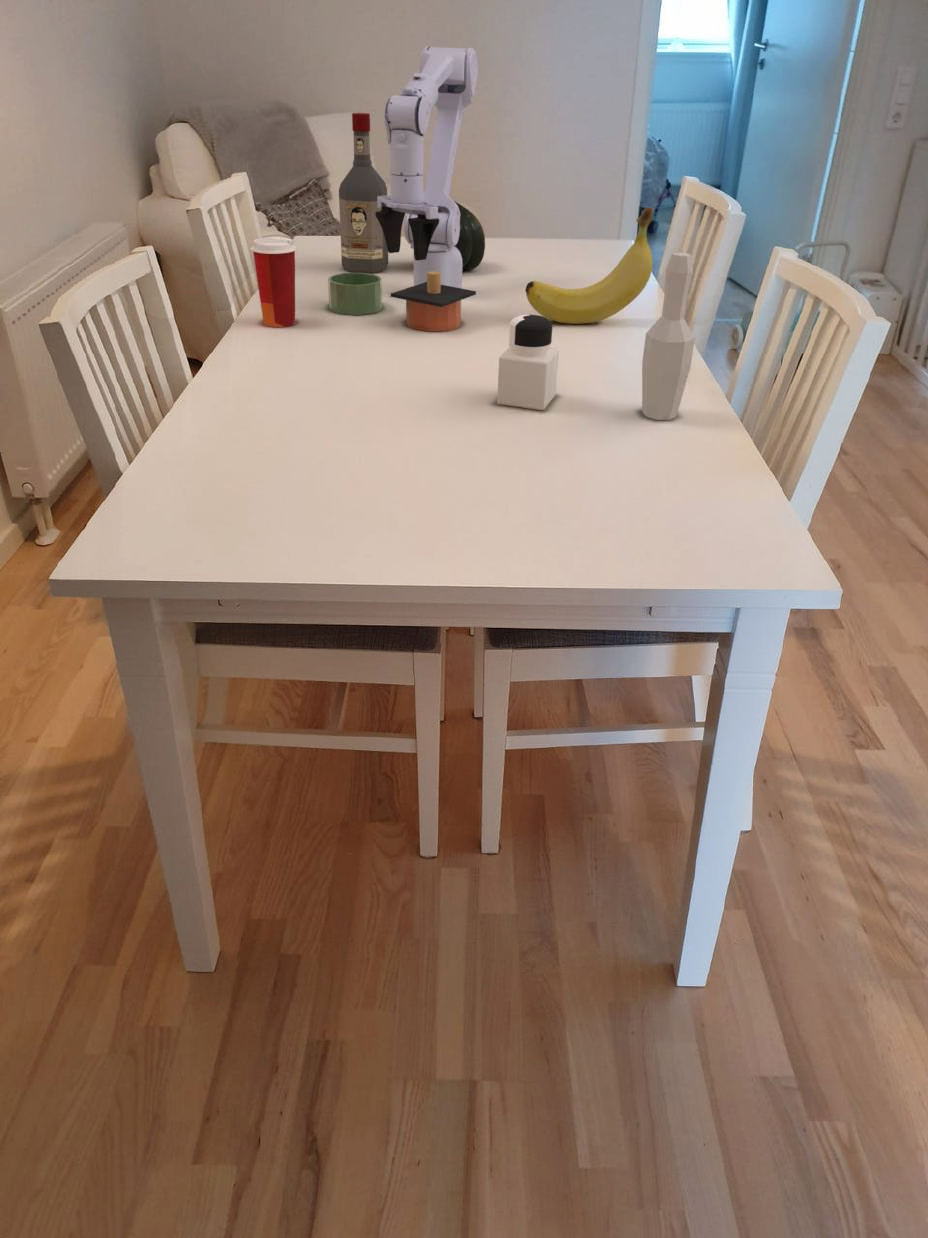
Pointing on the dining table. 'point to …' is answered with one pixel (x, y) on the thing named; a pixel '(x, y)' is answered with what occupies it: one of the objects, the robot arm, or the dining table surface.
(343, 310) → the sage cup
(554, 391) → the medicine bottle
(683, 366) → the faceted bottle
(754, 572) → the dining table surface
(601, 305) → the banana
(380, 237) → the liquor
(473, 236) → the squash
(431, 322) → the terracotta cup
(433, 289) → the dark square pegged slab
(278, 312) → the paper cup
